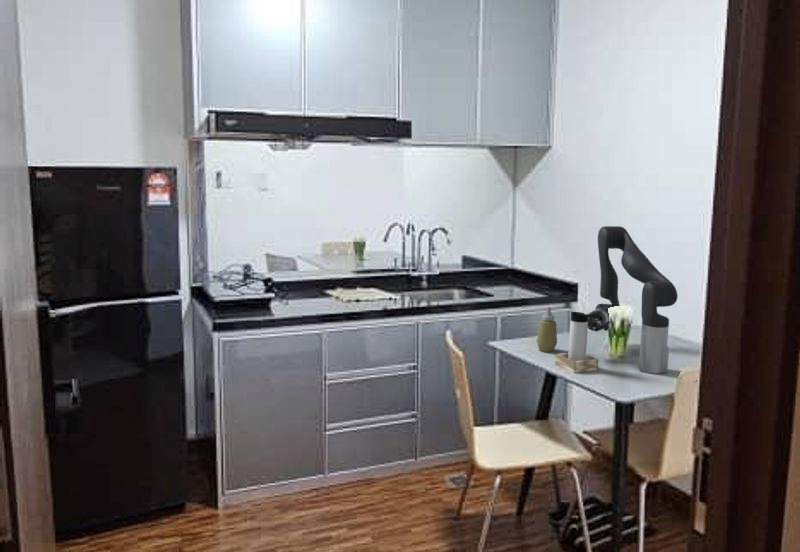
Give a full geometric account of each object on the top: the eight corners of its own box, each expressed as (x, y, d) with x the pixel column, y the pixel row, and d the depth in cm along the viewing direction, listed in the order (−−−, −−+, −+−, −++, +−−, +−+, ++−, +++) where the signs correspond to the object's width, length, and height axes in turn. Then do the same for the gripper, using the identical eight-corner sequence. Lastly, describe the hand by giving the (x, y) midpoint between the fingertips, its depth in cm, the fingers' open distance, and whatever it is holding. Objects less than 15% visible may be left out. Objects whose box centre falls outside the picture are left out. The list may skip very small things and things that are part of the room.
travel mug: (563, 362, 258) (566, 310, 255) (578, 361, 261) (581, 309, 258) (574, 367, 253) (577, 314, 249) (588, 365, 255) (592, 312, 252)
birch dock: (578, 361, 264) (579, 351, 263) (597, 369, 254) (598, 359, 253) (555, 364, 259) (555, 354, 259) (573, 372, 250) (574, 362, 249)
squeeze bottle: (546, 346, 285) (548, 304, 282) (560, 351, 278) (563, 307, 275) (531, 349, 280) (534, 306, 277) (546, 354, 274) (548, 309, 271)
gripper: (579, 308, 278) (567, 315, 264) (615, 312, 271) (604, 320, 257) (578, 326, 279) (566, 334, 266) (614, 331, 272) (603, 339, 258)
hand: (584, 327), depth 261 cm, fingers open, 8 cm apart
